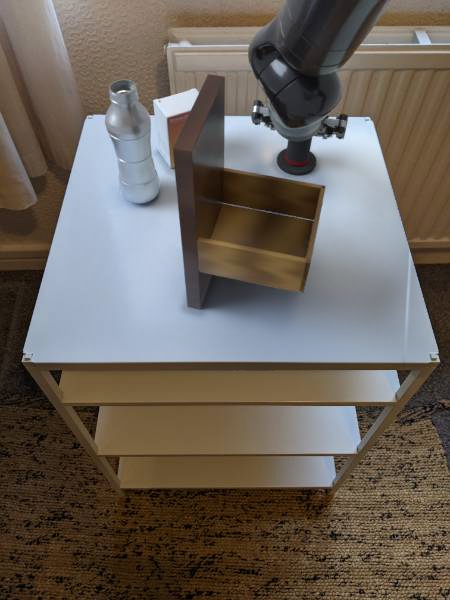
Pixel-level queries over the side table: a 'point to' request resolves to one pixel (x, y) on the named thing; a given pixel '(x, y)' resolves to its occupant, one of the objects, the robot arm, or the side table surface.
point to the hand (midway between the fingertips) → (299, 128)
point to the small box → (172, 120)
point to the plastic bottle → (132, 142)
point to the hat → (297, 158)
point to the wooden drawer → (237, 210)
